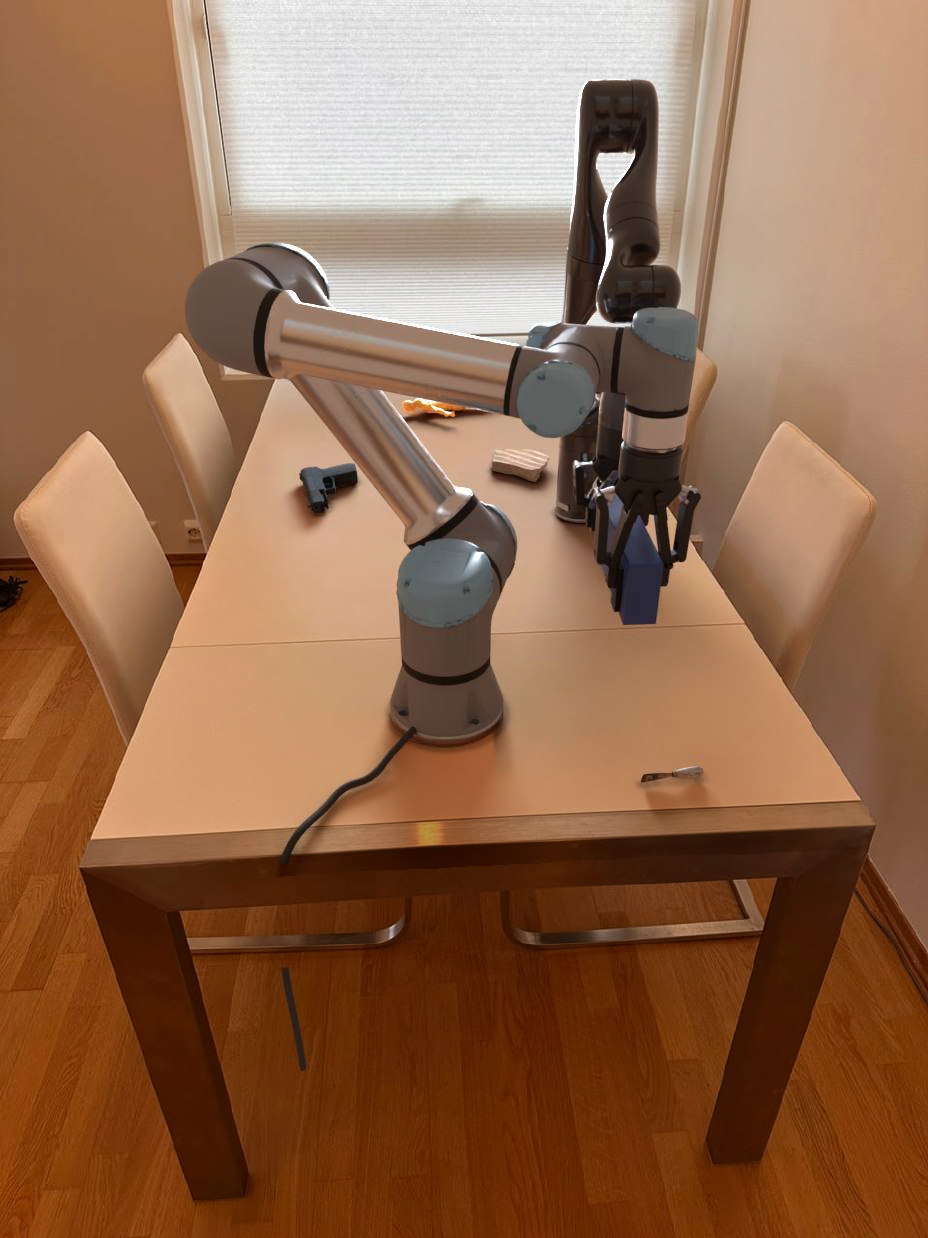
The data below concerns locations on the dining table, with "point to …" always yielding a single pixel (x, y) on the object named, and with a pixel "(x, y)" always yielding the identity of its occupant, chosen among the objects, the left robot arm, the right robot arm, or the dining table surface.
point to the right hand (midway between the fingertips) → (615, 528)
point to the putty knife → (674, 774)
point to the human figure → (430, 406)
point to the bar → (637, 571)
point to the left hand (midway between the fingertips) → (633, 606)
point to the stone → (519, 462)
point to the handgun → (325, 483)
